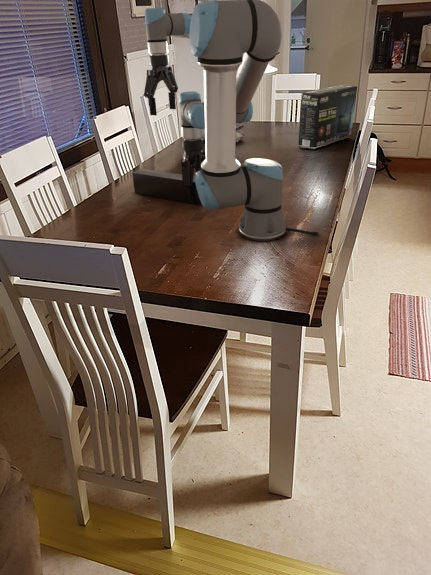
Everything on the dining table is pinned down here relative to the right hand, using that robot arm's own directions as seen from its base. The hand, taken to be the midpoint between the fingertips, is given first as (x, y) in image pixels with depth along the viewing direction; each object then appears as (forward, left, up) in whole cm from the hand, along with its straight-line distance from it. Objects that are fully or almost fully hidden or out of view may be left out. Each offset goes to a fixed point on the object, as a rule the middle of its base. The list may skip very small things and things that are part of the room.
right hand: (196, 199), depth 177 cm
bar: (+12, 0, 0) cm, 12 cm away
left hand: (+26, -20, +27) cm, 43 cm away
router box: (-17, -103, 0) cm, 104 cm away
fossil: (+34, -87, 0) cm, 93 cm away
